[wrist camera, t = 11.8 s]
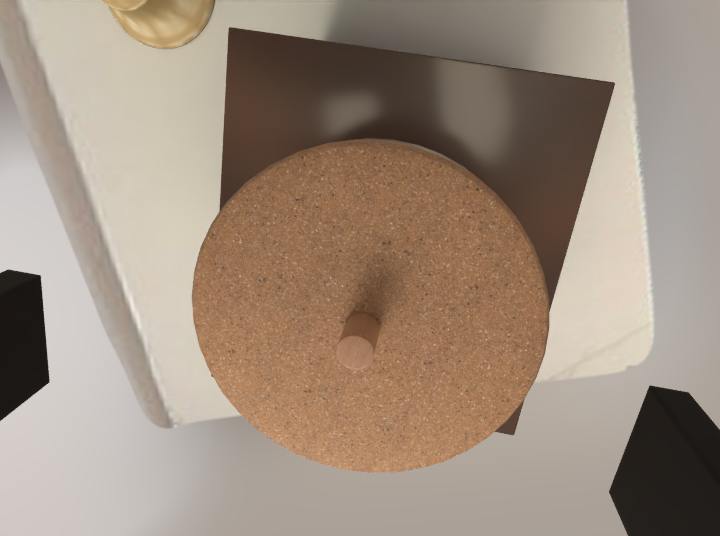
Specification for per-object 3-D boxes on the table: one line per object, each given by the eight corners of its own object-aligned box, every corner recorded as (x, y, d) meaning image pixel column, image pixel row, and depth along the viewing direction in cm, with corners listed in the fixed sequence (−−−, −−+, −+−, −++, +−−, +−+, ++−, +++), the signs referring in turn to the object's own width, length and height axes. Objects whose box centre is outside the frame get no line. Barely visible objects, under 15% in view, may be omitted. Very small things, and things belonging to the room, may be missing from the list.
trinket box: (561, 194, 21) (654, 270, 12) (438, 397, 25) (441, 567, 16) (320, 77, 21) (239, 69, 12) (232, 299, 25) (120, 417, 16)
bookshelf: (319, 54, 38) (228, 26, 21) (529, 85, 36) (615, 82, 20) (297, 263, 43) (211, 376, 26) (480, 295, 42) (514, 435, 25)
